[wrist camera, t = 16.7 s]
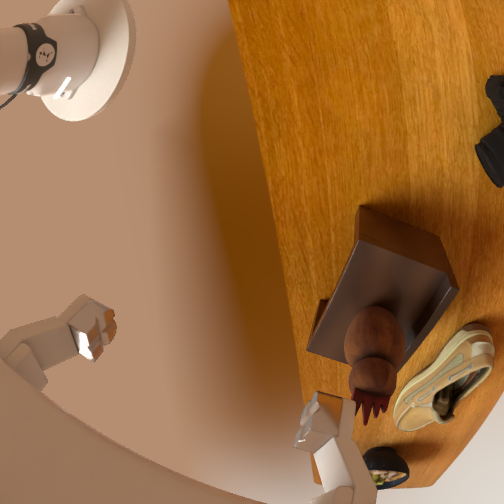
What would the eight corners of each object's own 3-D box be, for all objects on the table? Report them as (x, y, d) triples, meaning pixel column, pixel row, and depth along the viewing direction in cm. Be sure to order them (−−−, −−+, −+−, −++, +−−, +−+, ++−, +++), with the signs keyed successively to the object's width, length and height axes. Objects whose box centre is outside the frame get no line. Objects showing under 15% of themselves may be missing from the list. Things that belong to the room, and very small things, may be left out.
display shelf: (316, 306, 48) (302, 363, 39) (359, 205, 38) (358, 250, 29) (384, 330, 47) (383, 388, 37) (439, 236, 36) (459, 289, 27)
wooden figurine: (339, 318, 36) (317, 427, 24) (370, 288, 33) (363, 403, 21) (379, 344, 36) (370, 450, 24) (411, 318, 33) (417, 429, 21)
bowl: (420, 441, 60) (419, 475, 52) (398, 465, 68) (395, 494, 60) (359, 436, 64) (353, 471, 56) (344, 460, 73) (338, 489, 65)
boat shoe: (382, 410, 57) (378, 454, 48) (449, 312, 41) (461, 366, 32) (423, 416, 55) (422, 459, 46) (497, 324, 39) (513, 374, 30)
